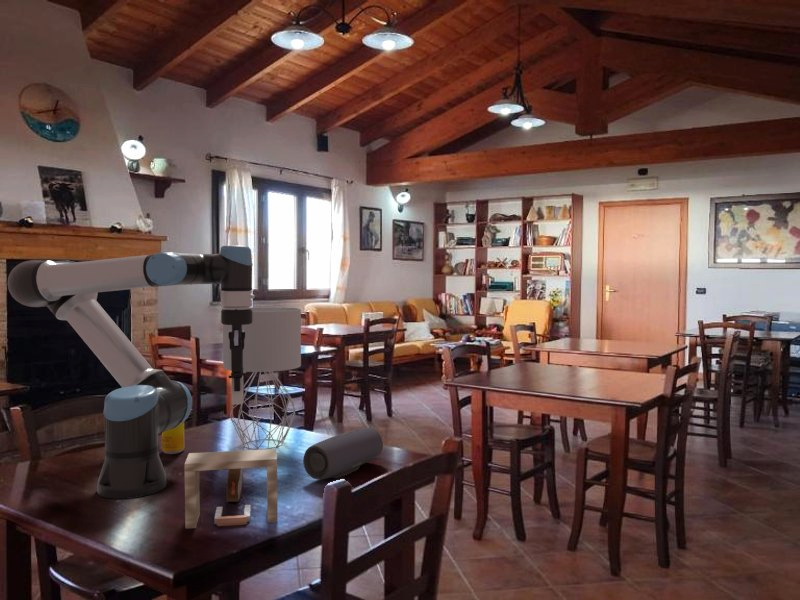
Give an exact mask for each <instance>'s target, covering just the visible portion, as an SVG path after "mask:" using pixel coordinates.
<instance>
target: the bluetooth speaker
mask: <svg viewBox="0 0 800 600" xmlns="http://www.w3.org/2000/svg"><path fill="white" fill-rule="evenodd" d="M383 448H384V442H383V439H382V437H381V434H380V432H379V431H378V430H377V429H375V428H374V427H370V426H369V427H368V426H367V427H362V428H361V427H360V428H357V429H353V430H350V431H346V432H343V433H341V434H337V435H334V436H331V437H328V438H326V439H324V440H321V441H319V442H317V443H314V444H312V445H311V446H308V448H307V449H306V450H305V452H304V454H303V459H302V463H303V467H304V470H305V473H306V474H307V475H308V476H309V477H310V478H312V479H314V480H318V481H319V480H326V479H329V478H331V479H340V478H342V476H343V477H346V476H347V474H348V475H350V474H352V473H351V472H353V471H355V472H357V471H359V470H360V469H359V468H360V467H361V466H363V465H365V464H367V463H368V462H370V461H372V460H374V459H375V458H376V457H378V456H379V455H380V454H382V452H383ZM358 469H359V470H358ZM356 470H357V471H356ZM349 473H350V474H349ZM353 473H354V472H353ZM345 475H346V476H345ZM339 477H340V478H339Z"/></svg>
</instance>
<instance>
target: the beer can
mask: <svg viewBox="0 0 800 600" xmlns="http://www.w3.org/2000/svg"><path fill="white" fill-rule="evenodd" d="M184 449H185V421H184V422H182V423H181V424H179V425H178V426H177V427H175V428H173V429H169V430H167V431H165V432H163V433H161V451H163V453H164V454H166V455H174V454H175V455H176V454H180V453H182V452H183V451H184Z"/></svg>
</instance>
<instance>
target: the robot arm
mask: <svg viewBox="0 0 800 600" xmlns="http://www.w3.org/2000/svg"><path fill="white" fill-rule="evenodd" d="M252 257H253V256H252V249H251V248H250V247H249V246H246V245H222V246H221V247H220V251H219V253H190V252H188V253H186V252H173V251H162V252H156V253H154V254H144V255H135V256H125V257H124V256H123V257H115V258H108V259H107V258H106V259H95V260H89V261H88V260H87V261H77V262H76V261H71V260H68V259H66V260H65V259H60V260H42V259H41V260H39V259H30V260H25V261H22V262H20V263H18V264H17V265H16V266H14V268H12V270H11V271H10V273H9V274H8V278H7V288H8V291H9V293H10V295H11V297H12V298H13V299H14V300H15V301H16V302H18V303H19V304H20V305H23V306H26V307H31V308H41V307H43V308H44V307H47V308H48V309H49V311H50V312H51V313H52V314H53V315H54V317H55V318H56V319H57V320H60V321H67V322H68V323H69V325H70V326H71V327H72V328H73V329H74V331H75V332H76V333H77V334H78V336H79V337H80V338H81V339H82V341H83V342H84V343H85V344H86V345H87V347H88V348H89V349H90V350H91V352H93V354H94V356H96V357H97V359H98V360H99V361H100V363H102V365H103V366H104V367H105V369H106V370H107V371H108V372H109V373H110V375H111V376H112V377H113V378H114V379H115V381H116V382H117V383H118V385H120V388H116V389H114V390H112V391H111V392H109V393H108V394H107V395H106V396H105V398H104V405H103V407H104V408H103V419H104V420H103V421H104V462H103V464H102V467H101V469H100V474H99V476H98V480H97V483H96V484H97V485H96V486H97V487H96V488H97V494H98V495H99V496H100V497H103V498H107V499H115V500H116V499H117V500H119V499H133V498H140V497H145V496H149V495H153V494H155V493H156V494H157V493H158V492H161V491H162V490H164V489H165V488H166V487H167V486H168V485H167V484H168V483H167V482H168V481H167V480H168V479H167V474H166V470H165V468H164V466H163V465H164V464H163V462H162V459H161V457H160V454H159V435H161V434H162V433H163V432H165V431H167V430H169V429H173V428H175V427H177V426H178V425H179V424H181V423H182V422H184V423H185V421H186V420H187V419H188V418H189V416H190V414H191V412H192V407H193V398H192V395H191V392H190V390H189V389H188V387H187V386H186V385H185V384H184V383H182V382H180V381H176V380H171V378H169V376H168V375H167V374H166V373H165V372H164V370H163V369H157V368H155V369H154V368H153V367H152V365H150V363H149V362H148V361H147V360H146V358H145V357H144V355H142V354H141V353H140V351H139V350H138V349H137V347H136V346H135V345H134V344H133V343H132V341H130V339H129V338H128V337H127V335H126V334H125V333H124V332H123V331H122V330H121V328H120V327H119V326H118V325H117V323H115V321H114V320H113V319H112V318H111V316H110V315H109V314H108V313H107V311H105V310H104V308H103V307H102V306H101V304H100V303H99V302H98V301H97V299H98V295H99V294H98V293H105V292H114V291H115V292H116V291H124V290H125V291H126V290H135V289H144V288H146V289H147V288H155V287H156V288H157V287H158V288H159V287H169V286H181V285H182V286H183V285H220V307H222V309H221V310H220V319H221V321H220V322H221V324H222V325H223V324H224V325H232V331H229V340H230V350H231V372H230V375H228V379H230V381H231V405H233V404H234V405H237V404H238V405H241V404H242V405H243V404H244V403H243V401H245V398H244V399H243V397H244V388H243V386H244V375H247V372H243V349H244V339H245V331H242V325H247V324H251V323H252V309H249V308H252V306H253V300H252V299H255V294H252V293H253V258H252Z"/></svg>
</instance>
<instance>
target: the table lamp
mask: <svg viewBox="0 0 800 600" xmlns="http://www.w3.org/2000/svg"><path fill="white" fill-rule="evenodd" d="M249 309H252V323H251V324H247V325H242V331H245V339H244V349H243V372H246V373H252V374H251V375H250V376H249V378H248V379H247V380H246V381H245V383H244V384H243V389H244V388H245V387H246V385H247V384H248V382H249V381H250V382H249V384H248V386H247V388H246V390H244V391H245V392H244V393H243V399H244V401H243V404H244V405H246V407H248V409H249V410H250V411H251V413H252V416H251V415H249V414H248V413H247V412H245V411H243V404H240V406H239V410H238V416H237V422H236V419H235V416H234V414H233V411H234V409H235V408H236V407H237V406H238V405H239V404H232V407H231V409H230V415H229V418H230V421H231V422H232V425H233V426H234V430H235V431H236V433H237V435H238V438H239V439H240V442H241V444H242V445H243V447H244V448H247V449H249V450H261V448H260V447H261V446H262V445H263V443H264V442H265V440H266V441H267V447H266V448H264V449H277V448H279V447H281V446H283V445H284V442H285V440H286V439H287V436H288V433H289V431H290V429H291V427H292V424H293V423H294V419H295V417H296V408H295V403H294V401H293V399H292V396H291V393H290V392H289V391H288V389H286V388H285V387H286V386H284V385H283V383H282V382H281V381H280V379H279V378H278V377H277V375H276V374H275V372H281V371H282V372H284V371H290V370H294V369H299V368H301V366H302V335H301V334H302V328H301V327H302V326H301V325H302V321H301V319H302V318H301V317H302V316H301V314H302V312H301V311H302V309H301V308H297V307H280V306H279V307H277V306H275V307H274V306H273V307H272V306H271V307H270V306H269V307H268V306H267V307H266V306H265V307H261V306H259V307H257V306H255V307H250V308H249ZM229 331H232V325H224V324H222V361H223V362H222V363H223V364H222V365H223V367H222V368H223V369H224V370H227V371H231V350H230V340H229ZM257 373H259V374H258V375H259V376H258V381H257V385H256V391H255V392H254V393H253V394H252V395H250V396H249V397H248V398H246V395H247V393H248V391H249V389H250V387H251V385H252V383H253V381H254V380H255V377H256V375H257ZM261 373H263V374H264V379H265V384H266V385H265V386H266V392H267V396H265V394H262V393H261V392H259V386H260V380H261V375H262V374H261ZM268 374H269V376H270V378H271V380H272V382H273V384H274V386H275V389H276V391H277V392H278V395H276V396H275V397H274V398H273V395H272V390H271V385H270V381H269V378H268ZM250 379H251V380H250ZM277 386H278V387H277ZM268 387H269V388H268ZM281 387H282V388H281ZM282 389H283V390H282ZM279 390H280V391H279ZM283 391H284V392H285V393H284V392H283ZM269 392H270V395H269ZM258 393H259V395H261V396H263V397H264V398H266V399H268V401H267V402H265V403H264V404H262V405H261V406H260V407H258ZM281 394H282V395H281ZM254 395H255V397H254V401H253V410H252V409H251V407H249V405H248V404H247V403H246V402H247V401H248V400H249V399H251V398H252V396H254ZM277 397H280V399H281V401H282V404H283V408H282V407H281V406H280V405H278V404H276V403H275V402H273V401H274V400H275V399H277ZM245 398H246V399H245ZM286 398H287V401H286ZM289 401H290V403H291V405H292V407H293V412H292V413H290V415H288V416H287V411H288V409H287V408H288V404H289ZM268 403H269V410H268V411H267V412H265V413H264V414H263V416H261V417H260V418H259V419H258V412H259V410H260V409H261V408H263V407H264V406H265V405H267V404H268ZM274 405H275V406H276V407H278V408H279V409H282V410H283V411H284V414H283V418H281V417H280V416H279V414H278V413H277V412H276V409H274V407H273V406H274ZM257 407H258V409H257ZM273 411H274V413H275V414H276V416H277V417H278V418H279V420H280V421H281V422H279V424H278V425H276V426H274V428H273V429H272V428H271V427H272V418H273ZM243 413H244V414H245V415H247V416H248V417H250V418H251V419H252V421H251V422H250V424H249V425H248V426H247V425H246V421H245V417H244V415H243ZM255 413H256V418H255ZM268 413H269V414H270V415H269V416H270V417H269V419H270V421H269V422H270V423H269V430H267V429H266V428H264V427H263V426H262V425H261V424H260V422H259V421H260V420H261V419H263V417H264V416H265V415H266V414H268ZM241 415H242V419H243V423H244V425H245V429H244V430H243V428H242V425H241V423H240V419H241ZM290 417H291V419H290V422H289V421H288V419H289V418H290ZM255 421H256V422H255ZM286 422H287V425H288V427H287V428H286V431H285V433H284V429H285V426H286ZM251 425H252V426H253V430H252V431H253V432H252V435H251V437H250V434H249V430H248V428H249V427H250V426H251ZM259 427H260V428H261V430H262V431H263V433H264V435H265V438H263V439H261V438H260V431H259ZM256 428H257V433H258V439H257V435H256V434H257V433H256ZM271 429H272V430H271ZM278 429H279V431H278V435H277V438H276V440H277V442H275V441H276V440H275V439H274V437H273V435H275V434H276V432H277V430H278ZM245 431H246V432H247V434H246V433H245ZM273 431H274V432H273ZM266 432H267V433H268V434H267V433H266ZM272 432H273V433H272ZM271 433H272V434H271ZM283 434H284V435H283ZM253 436H254V439H253ZM271 438H272V439H271ZM252 439H253V440H252ZM247 440H248V441H247ZM258 441H261V443H260V444H259V445H258ZM270 441H273V443H274V446H273V447H269V446H270V444H269V443H270ZM254 442H255V444H254ZM249 443H251V444H252V445H253V447H255V448H253V447H249ZM276 443H277V444H276ZM246 445H247V446H246Z"/></svg>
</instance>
